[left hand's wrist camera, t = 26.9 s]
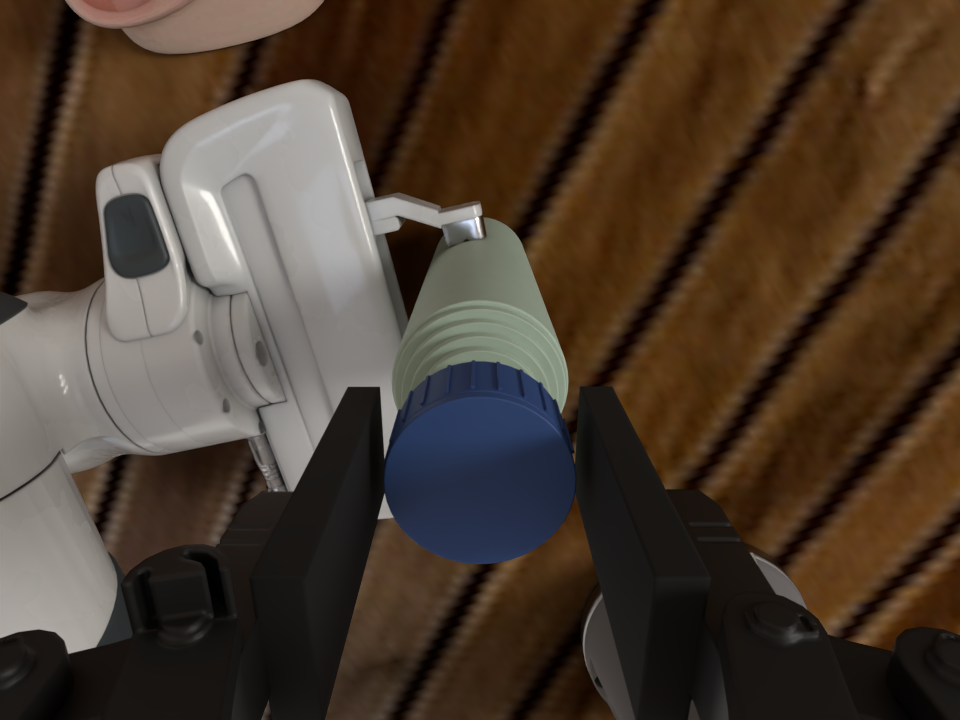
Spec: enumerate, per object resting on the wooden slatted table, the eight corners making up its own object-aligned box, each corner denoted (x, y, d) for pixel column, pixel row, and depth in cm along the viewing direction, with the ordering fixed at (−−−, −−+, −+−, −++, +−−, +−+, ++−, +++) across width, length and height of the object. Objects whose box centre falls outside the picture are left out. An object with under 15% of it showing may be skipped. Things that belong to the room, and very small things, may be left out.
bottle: (475, 325, 35) (468, 598, 15) (415, 258, 34) (314, 456, 13) (544, 268, 34) (643, 477, 14) (484, 197, 33) (493, 307, 12)
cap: (578, 496, 15) (592, 549, 13) (417, 525, 16) (408, 580, 14) (550, 342, 14) (562, 376, 12) (373, 377, 14) (356, 416, 12)
